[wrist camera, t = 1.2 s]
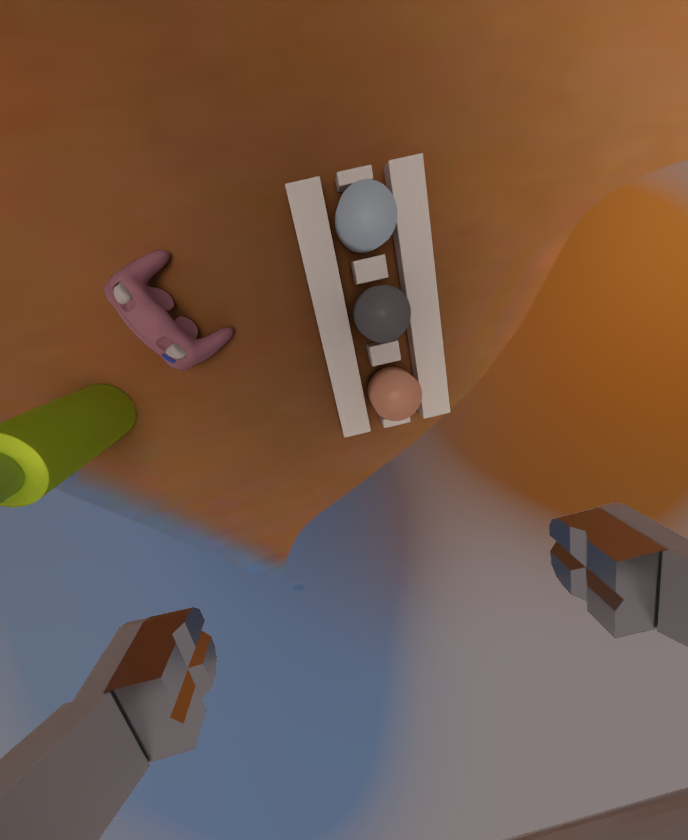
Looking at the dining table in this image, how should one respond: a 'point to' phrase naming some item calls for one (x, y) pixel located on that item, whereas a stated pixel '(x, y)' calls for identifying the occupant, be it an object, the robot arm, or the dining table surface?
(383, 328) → the charcoal button
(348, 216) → the pale blue button
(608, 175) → the dining table surface
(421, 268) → the button board
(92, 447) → the soap dispenser
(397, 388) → the terracotta button
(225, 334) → the video game controller
